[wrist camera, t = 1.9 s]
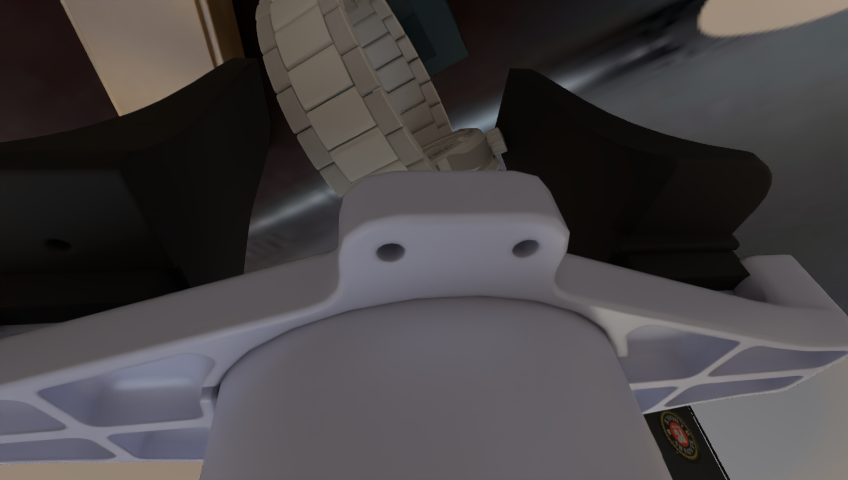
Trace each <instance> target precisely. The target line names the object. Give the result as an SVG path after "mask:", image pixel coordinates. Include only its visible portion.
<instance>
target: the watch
mask: <svg viewBox="0 0 848 480" xmlns="http://www.w3.org/2000/svg"><path fill="white" fill-rule="evenodd" d="M256 21H257V24H256V26H257V35H258V40H259V45H260V49H261V52H262V53H263V54H264V55H263V60H264V63H265V67H266V70H267V73H268V76H269V78H270V81H271V84H272V86H273V89H274V91H275V92H276V93H277V94H278V95H277V100H278V102H279V104H280V107H281V109H282V111H283V113H284V115H285V117H286V119H287V121H288V123H289V125H290V127H291V129H292V131H293V132H294V133H295V134H297V133H299V132H300V131H302V130H304V129H306V128H308V127H309V126H311V125H312V127H311V128H309V129H307V130H305V131H303V132H302V133H300V134H298V135H297V138H298V140H299V142H300V144H301V146H302V147H303V149H304V151H305V152H306V154H307V156H308V157H309V159H310V160H311V162H312V163H313V165H314V166H315V168H316V169H318V170H319V169H320V173H321V175H322V176H323V178H324V179H325V180H326V182H327V183H328V184H329V186H330V187H331V188H332V189H333V190H334V192H335V193H336V194H337V195H338V196H339V197H342V198H344V195H345V192H347V191H348V190H349V189H350V188H352V187H353V186H354V185H355V184H357V183H358V182H359V181H361V180H362V179H363V178H364V177H366V176H371V175H376V174H381V173H385V172H390V171H497V169H498V167H499V165H500V163H499V161H498V158H497V155H500V154H502V153H504V152H506V151H507V146H506V143H505V140H504V138H503V135H502V133H501V132H500V130H499V129H498V127H497V128H495V129H492V130H490V131H488V132H486V136H487V138H486V137H485V135H484V133H482V132H481V130H479V129H478V128H465V129H460V130H457V131H455V132H453V129H452V127H451V125H450V121H449V119H448V117H447V114H446V112H445V110H444V108H443V106H442V104H441V100H440V98H439V96H438V94H437V92H436V90H435V88H434V86H433V84H432V82H431V81H429V80H430V76H432V75H434V74H436V73H438V72H440V71H441V70H443V69H445V68H447V67H449V66H451V65H452V64H454V63H456V62H458V61H460V60H462V59H463V58H465V57H467V56H469V53H468V51H467V48H466V45H465V43H464V40H463V37H462V35H461V32H460V29H459V26H458V24H457V21H456V19H455V17H454V14H453V12H452V10H451V8H450V5H449V3H448V1H447V0H260V1H259V5H258V7H257V10H256ZM427 81H429V82H427ZM425 82H427V83H425ZM423 83H425V84H423ZM421 84H423V85H421ZM420 85H421V86H420ZM331 98H333V99H331ZM329 99H331V100H329ZM327 100H329V101H328V102H326V103H324V102H325V101H327ZM424 101H425V102H424ZM422 102H424V103H422ZM322 103H324V104H322ZM420 103H422V104H420ZM320 104H322V105H321V106H319V105H320ZM418 104H420V105H418ZM437 104H438V105H437ZM417 105H418V106H417ZM435 105H436V106H435ZM317 106H319V107H317ZM415 106H416V107H415ZM433 106H434V107H433ZM315 107H317V108H315ZM413 107H414V108H413ZM431 107H432V108H431ZM313 108H315V109H314V110H312V109H313ZM411 108H412V109H411ZM409 109H410V110H409ZM310 110H312V111H310ZM407 110H408V111H407ZM405 111H406V112H405ZM403 112H405V113H403ZM401 113H403V114H401ZM400 114H401V115H400ZM376 125H377V126H376ZM374 126H375V127H374ZM372 127H373V128H372ZM370 128H371V129H370ZM368 129H369V130H368ZM366 130H367V131H366ZM364 131H366V132H364ZM362 132H364V133H362ZM361 133H362V134H361ZM359 134H360V135H359ZM357 135H358V136H357ZM355 136H356V137H355ZM353 137H354V138H353ZM351 138H352V139H351ZM349 139H350V140H349ZM347 140H349V141H347ZM345 141H347V142H345ZM344 142H345V143H344ZM342 143H343V144H342ZM340 144H341V145H340ZM338 145H339V146H338ZM336 146H337V147H336ZM334 147H335V148H334ZM332 148H333V149H332ZM492 152H493V153H494V154H495V155H493V154H492Z"/></svg>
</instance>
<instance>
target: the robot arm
mask: <svg viewBox="0 0 848 480" xmlns="http://www.w3.org/2000/svg"><path fill="white" fill-rule="evenodd" d="M497 127H498V129H499V130H500V132H501V133H502V135H503V138H504V140H505V143H506V146H507V151H506V152H504V153H502V154H501V155H502V158H503V160H504V163H505V166H506V168H507V171H390V172H385V173H381V174H376V175H371V176H366V177H364V178H363V179H362V180H361V181H359V182H358V183H357V184H355V185H354V186H353V187H352V188H350V189H349V190H348V191H347V192H345V195H344V198H343V202H342V205H341V209H340V212H339V238H338V247H337V248H336V249H334V250H332V251H328V252H324V253H321V254H317V255H313V256H309V257H306V258H302V259H298V260H294V261H291V262H287V263H283V264H279V265H276V266H272V267H268V268H264V269H261V270H257V271H253V272H249V273H246V274H243V272H244V263H245V254H246V246H247V238H248V231H249V224H250V217H251V212H252V208H253V204H254V200H255V197H256V193H257V190H258V186H259V183H260V179H261V176H262V172H263V168H264V165H265V161H266V157H267V153H268V148H269V140H270V130H271V121H270V116H269V111H268V107H267V102H266V97H265V93H264V88H263V83H262V78H261V74H260V69H259V64H258V59H257V58H232V59H229V60H227V61H226V62H224V63H222V64H221V65H219V66H217V67H216V68H214V69H213V70H211V71H210V72H208V73H206V74H205V75H203V76H202V77H200V78H199V79H197V80H195V81H194V82H192V83H190V84H189V85H187V86H185V87H183V88H182V89H180V90H178V91H176V92H174V93H173V94H171V95H169V96H167V97H165V98H163V99H161V100H159V101H157V102H155V103H153V104H151V105H148V106H146V107H143V108H141V109H138V110H136V111H134V112H131V113H128V114H125V115H122V116H119V117H116V118H113V119H109V120H106V121H103V122H100V123H97V124H94V125H90V126H86V127H82V128H78V129H74V130H70V131H65V132H60V133H56V134H51V135H46V136H40V137H35V138H28V139H21V140H15V141H8V142H1V143H0V465H3V464H27V463H69V462H203V466H202V471H201V475H200V480H672V477H671V475H670V473H669V471H668V469H667V466H666V464H665V462H664V460H663V458H662V455H661V453H660V451H659V449H658V447H657V444H656V442H655V440H654V438H653V436H652V433H651V431H650V429H649V427H648V425H647V422H646V420H645V418H644V416H643V414H647V413H652V412H657V411H662V410H667V409H672V408H677V407H682V406H687V405H693V404H698V403H703V402H709V401H714V400H720V399H727V398H733V397H741V396H747V395H756V394H765V393H773V392H782V391H785V390H787V389H789V388H791V387H793V386H795V385H797V384H799V383H800V382H802V381H804V380H806V379H808V378H810V377H812V376H814V375H816V374H817V373H819V372H821V371H823V370H825V369H827V368H829V367H831V366H833V365H834V364H836V363H838V362H840V361H842V360H844V359H846V358H848V316H847V315H846V314H845V313H844V312H843V311H842V310H841V309H840V307H839V306H838V305H837V304H836V303H835V302H834V301H833V300H832V299H831V298H830V297H829V296H828V294H827V293H826V292H825V291H824V290H823V289H822V288H821V287H820V286H819V285H818V284H817V283H816V282H815V280H814V279H813V278H812V277H811V276H810V275H809V274H808V273H807V272H806V271H805V270H804V269H803V267H802V266H801V265H800V264H799V263H798V262H797V261H796V260H795V259H794V258H793V257H792V256H791V255H758V256H749V257H746V258H743V259H741V260H740V259H739V258H738V257H737V256H736V254H735V253H734V252H733V251H732V250H736V249H737V248H738V247H739V242H738V241H737V239H736V238H735V237H734V236H733V235H732V233H733V232H734V231H735V230H736V229H737V228H738V227H739V226H740V225H741V224H742V223H743V222H744V221H745V220H746V219H747V217H748V216H749V215H750V214H751V213H752V212H753V211H754V210H755V209H756V208H757V207H758V206H759V205H760V203H761V202H762V201H763V200H764V198H765V197H766V195H767V193H768V191H769V189H770V186H771V183H772V173H771V171H770V169H769V167H768V166H767V165H766V164H765V163H763V162H762V161H761V160H760V159H759V158H758V157H757V156H756V155H755V154H753V153H751V152H747V151H741V150H736V149H730V148H724V147H718V146H712V145H706V144H702V143H697V142H693V141H689V140H685V139H681V138H677V137H673V136H670V135H666V134H663V133H660V132H657V131H653V130H650V129H647V128H644V127H641V126H639V125H636V124H633V123H631V122H628V121H626V120H624V119H621V118H619V117H617V116H614V115H612V114H610V113H608V112H606V111H604V110H602V109H600V108H598V107H596V106H594V105H592V104H591V103H589V102H587V101H585V100H583V99H582V98H580V97H578V96H576V95H575V94H573V93H571V92H570V91H568V90H567V89H565V88H563V87H562V86H560V85H558V84H557V83H555V82H554V81H552V80H550V79H549V78H547V77H545V76H543V75H542V74H540V73H538V72H536V71H534V70H531V69H518V68H510V70H509V74H508V78H507V82H506V86H505V90H504V94H503V98H502V102H501V106H500V110H499V114H498V118H497V122H496V125H495V128H497Z"/></svg>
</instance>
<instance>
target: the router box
mask: <svg viewBox="0 0 848 480" xmlns="http://www.w3.org/2000/svg"><path fill="white" fill-rule="evenodd" d="M689 409H690V410H689ZM691 412H692V414H693V415H692V414H691ZM643 416H644V418H645V420H646V422H647V425H648V427H649V429H650V431H651V433H652V436H653V438H654V440H655V442H656V444H657V447H658V449H659V451H660V453H661V455H662V458H663V460H664V462H665V464H666V466H667V469H668V471H669V473H670V475H671V477H672V480H726V479H725V477H724V475H723V473H722V471H721V470H720V467H721V469H722V470H723V472H724V474H725V476H726V477H727V480H730V478H729V477H728V475H727V473H726V471H725V469H724V467H723V466H722V464H721V462H720V461H719V459H718V456H717V454H716V453H715V451H714V449H713V447H712V445H711V443H710V441H709V440H708V438H707V436H706V434H705V432H704V430H703V429H702V427H701V425H700V423H699V422H698V419H697V418H696V416H695V414H694V412H693V410H692V408H691V406H690V405H689V406H682V407H677V408H672V409H667V410H662V411H657V412H652V413H647V414H643ZM693 416H694V418H695V420H696V421H697V423H698V425H699V427H700V429H701V431H702V433H703V434H704V436H705V438H706V440H707V442H708V444H709V446H710V448H711V449H712V451H713V454H714V455H715V457H716V459H717V461H718V463H719V465H720V467H719V466H718V464H717V462H716V460H715V458H714V456H713V454H712V453H711V450H710V448H709V447H708V445H707V443H706V441H705V439H704V437H703V435H702V433H701V431H700V429H699V427H698V426H697V424H696V422H695V420H694V418H693Z"/></svg>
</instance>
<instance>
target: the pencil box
mask: <svg viewBox="0 0 848 480" xmlns="http://www.w3.org/2000/svg"><path fill="white" fill-rule="evenodd" d="M60 2H61V4H62V6H63V8H64V9H65V11H66V13H67V15H68V17H69V19H70V21H71V23H72V25H73V27H74V29H75V31H76V33H77V35H78V37H79V39H80V41H81V43H82V44H83V46H84V48H85V50H86V52H87V54H88V56H89V58H90V60H91V62H92V64H93V66H94V68H95V70H96V72H97V74H98V76H99V78H100V80H101V81H102V83H103V85H104V87H105V89H106V91H107V93H108V95H109V97H110V99H111V101H112V103H113V105H114V107H115V109H116V111H117V113H118V115H119V116H122V115H125V114H128V113H131V112H134V111H136V110H138V109H141V108H143V107H146V106H148V105H151V104H153V103H155V102H157V101H159V100H161V99H163V98H165V97H167V96H169V95H171V94H173V93H174V92H176V91H178V90H180V89H182V88H183V87H185V86H187V85H189V84H190V83H192V82H194V81H195V80H197V79H199V78H200V77H202V76H203V75H205V74H206V73H208V72H210V71H211V70H213V69H214V68H216V67H217V66H219V65H221V64H222V63H224V62H226V61H227V60H229V59H232V58H245V55H244V51H243V46H242V42H241V38H240V33H239V29H238V25H237V20H236V16H235V12H234V7H233V3H232V0H60Z"/></svg>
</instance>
